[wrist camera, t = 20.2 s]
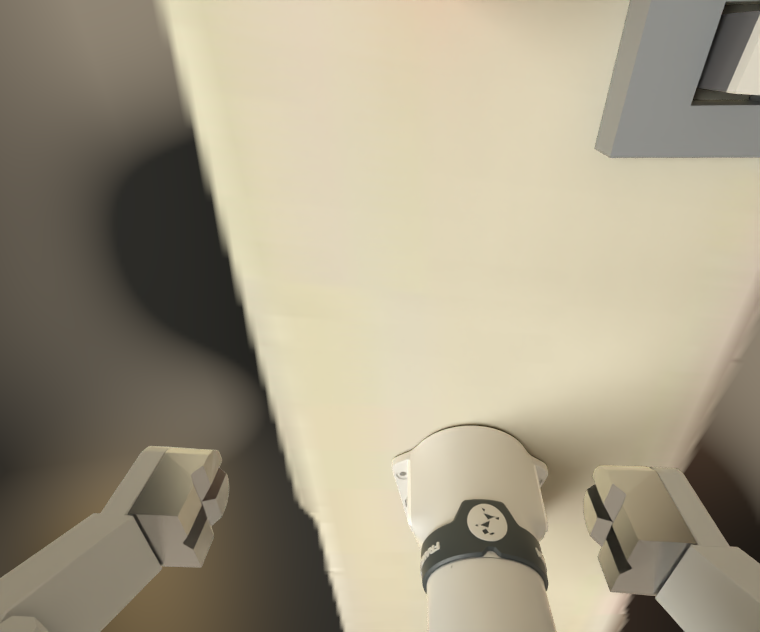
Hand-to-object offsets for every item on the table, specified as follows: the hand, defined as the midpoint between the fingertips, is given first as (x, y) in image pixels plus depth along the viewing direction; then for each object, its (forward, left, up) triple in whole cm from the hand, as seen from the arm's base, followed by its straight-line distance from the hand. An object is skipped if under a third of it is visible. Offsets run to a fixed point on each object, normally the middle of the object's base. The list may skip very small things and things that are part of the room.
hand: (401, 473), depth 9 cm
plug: (+7, -21, -29) cm, 37 cm away
